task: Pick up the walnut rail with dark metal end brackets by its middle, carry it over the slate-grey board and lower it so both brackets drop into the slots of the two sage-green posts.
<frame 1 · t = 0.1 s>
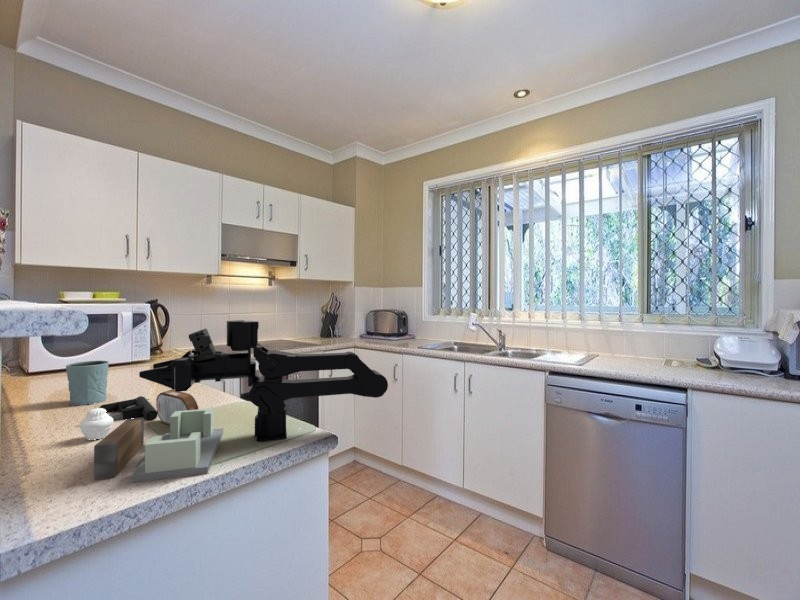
hand: (146, 370, 82), 17 cm above the worktop, tool horizontal, fingers open, 9 cm apart
muffin: (96, 439, 88), on the worktop
tin: (176, 426, 97), on the worktop
rail: (121, 460, 76), on the worktop
door handle: (121, 418, 105), on the worktop
teal plant pot: (87, 402, 118), on the worktop
post frame: (184, 454, 79), on the worktop
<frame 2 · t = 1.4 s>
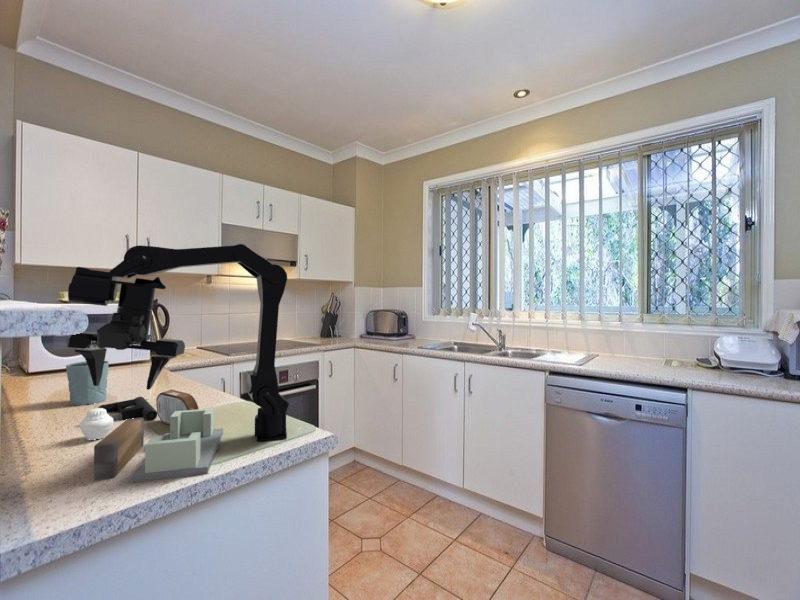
hand: (122, 387, 76), 14 cm above the worktop, tool pointing down, fingers open, 9 cm apart
nothing on the worktop moved.
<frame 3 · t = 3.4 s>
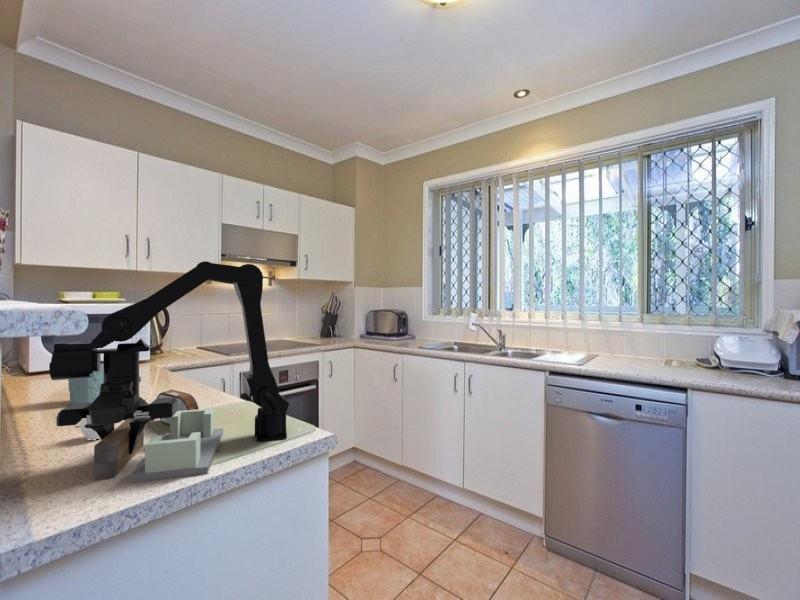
hand: (121, 454, 76), 1 cm above the worktop, tool pointing down, fingers closed on rail, 3 cm apart
rail: (121, 460, 76), on the worktop, touching gripper
everything else where it was.
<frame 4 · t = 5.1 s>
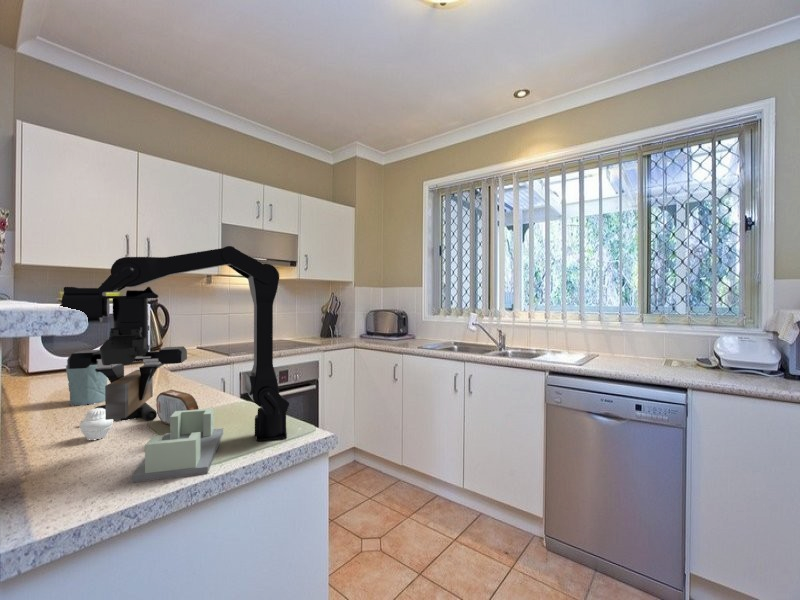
hand: (131, 400, 76), 12 cm above the worktop, tool pointing down, fingers closed on rail, 3 cm apart
rail: (131, 406, 76), point 10 cm above the worktop, touching gripper
everything else where it was.
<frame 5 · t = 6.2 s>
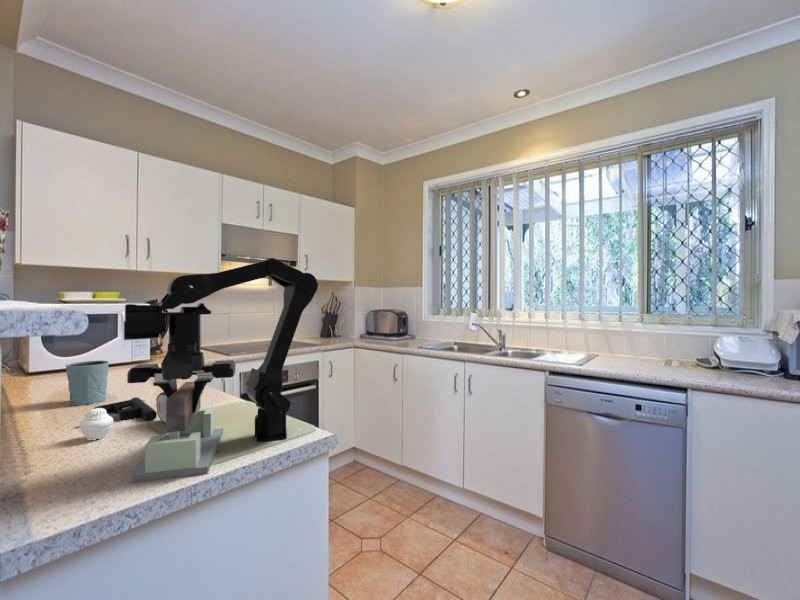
hand: (185, 413, 79), 8 cm above the worktop, tool pointing down, fingers closed on rail, 3 cm apart
rail: (185, 418, 79), point 7 cm above the worktop, touching gripper
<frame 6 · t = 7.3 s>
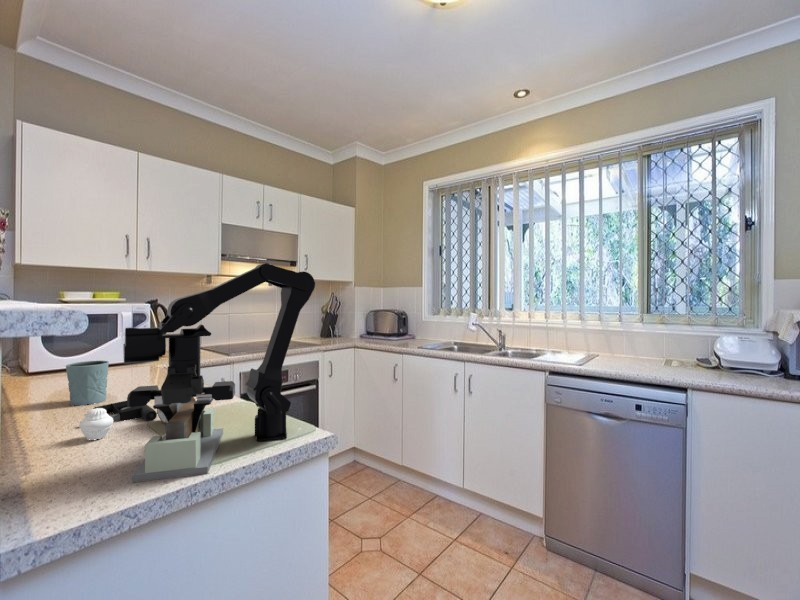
hand: (184, 435, 79), 4 cm above the worktop, tool pointing down, fingers closed on rail, 3 cm apart
rail: (184, 440, 79), point 3 cm above the worktop, touching gripper
when the fingers open (4 cm above the worktop, at t = 7.4 s): rail drops 1 cm, resting on post frame.
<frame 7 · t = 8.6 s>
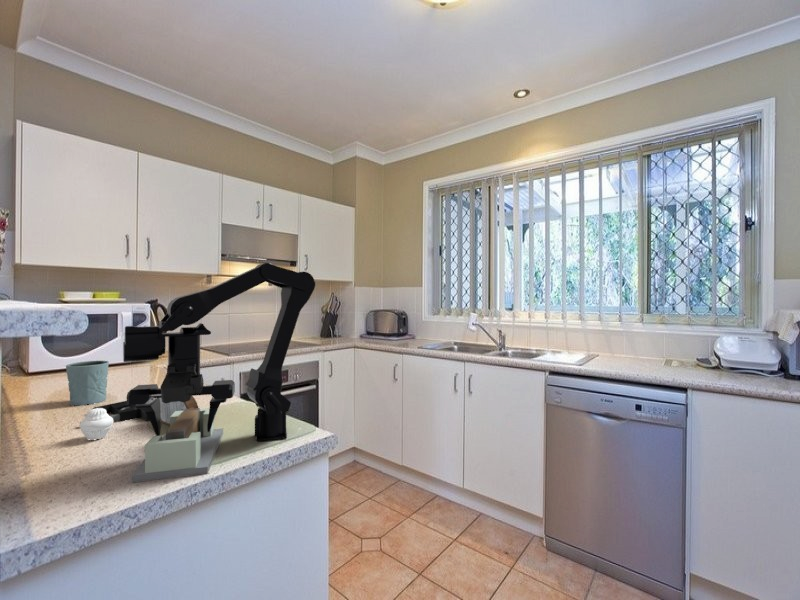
hand: (184, 433, 79), 4 cm above the worktop, tool pointing down, fingers open, 9 cm apart
rail: (184, 448, 79), point 1 cm above the worktop, touching post frame
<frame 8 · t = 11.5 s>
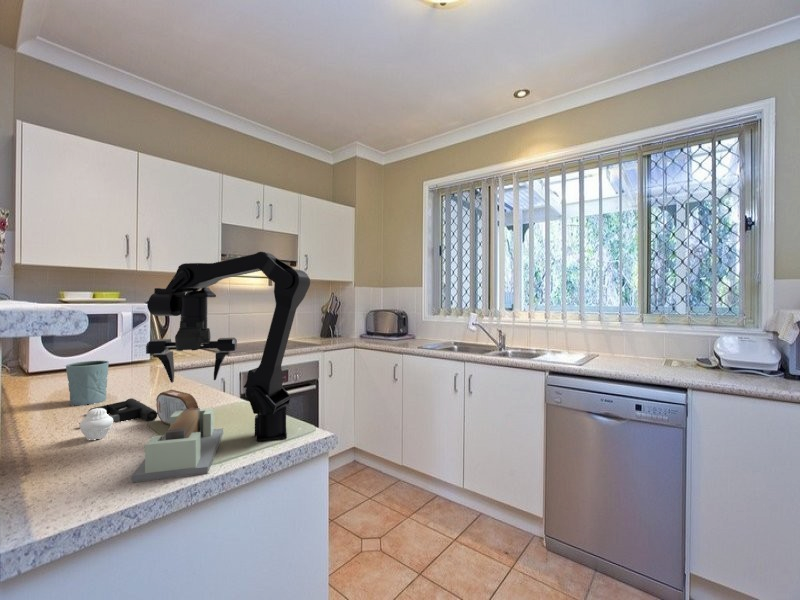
hand: (193, 381, 93), 12 cm above the worktop, tool pointing down, fingers open, 9 cm apart
at the end: rail 0.0 cm off-centre on the post frame, point 1.2 cm above the post frame's base; rail tilted 0°; the gripper is holding nothing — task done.
